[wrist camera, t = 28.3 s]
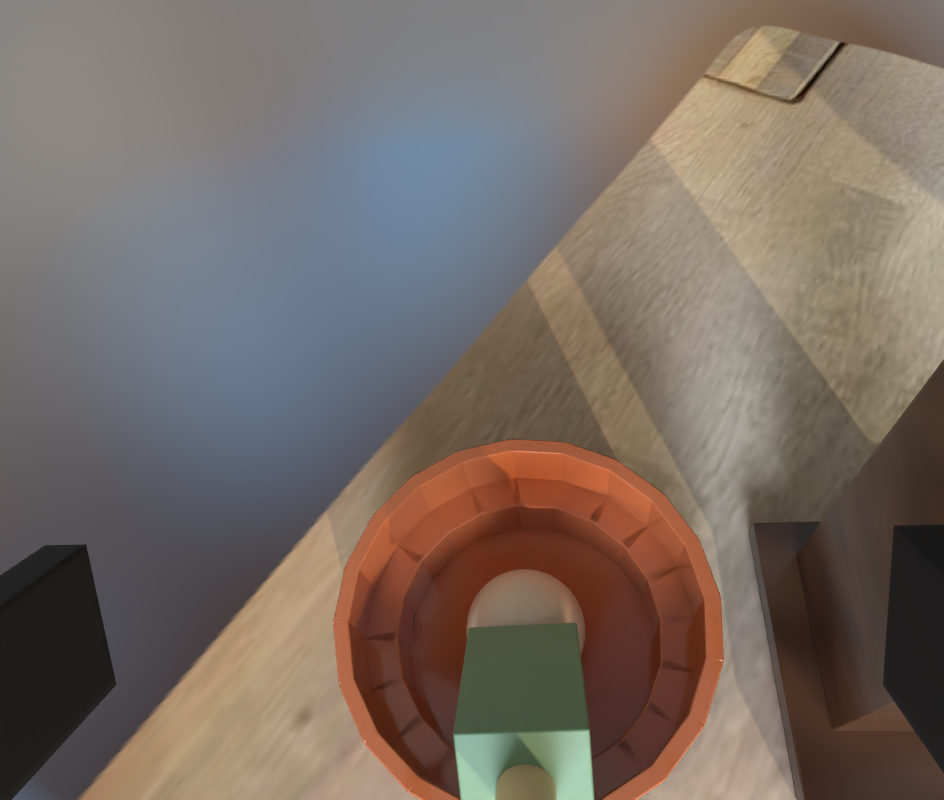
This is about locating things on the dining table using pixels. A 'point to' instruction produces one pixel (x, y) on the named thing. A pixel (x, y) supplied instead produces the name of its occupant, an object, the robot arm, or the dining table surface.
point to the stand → (852, 619)
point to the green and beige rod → (524, 694)
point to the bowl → (547, 550)
